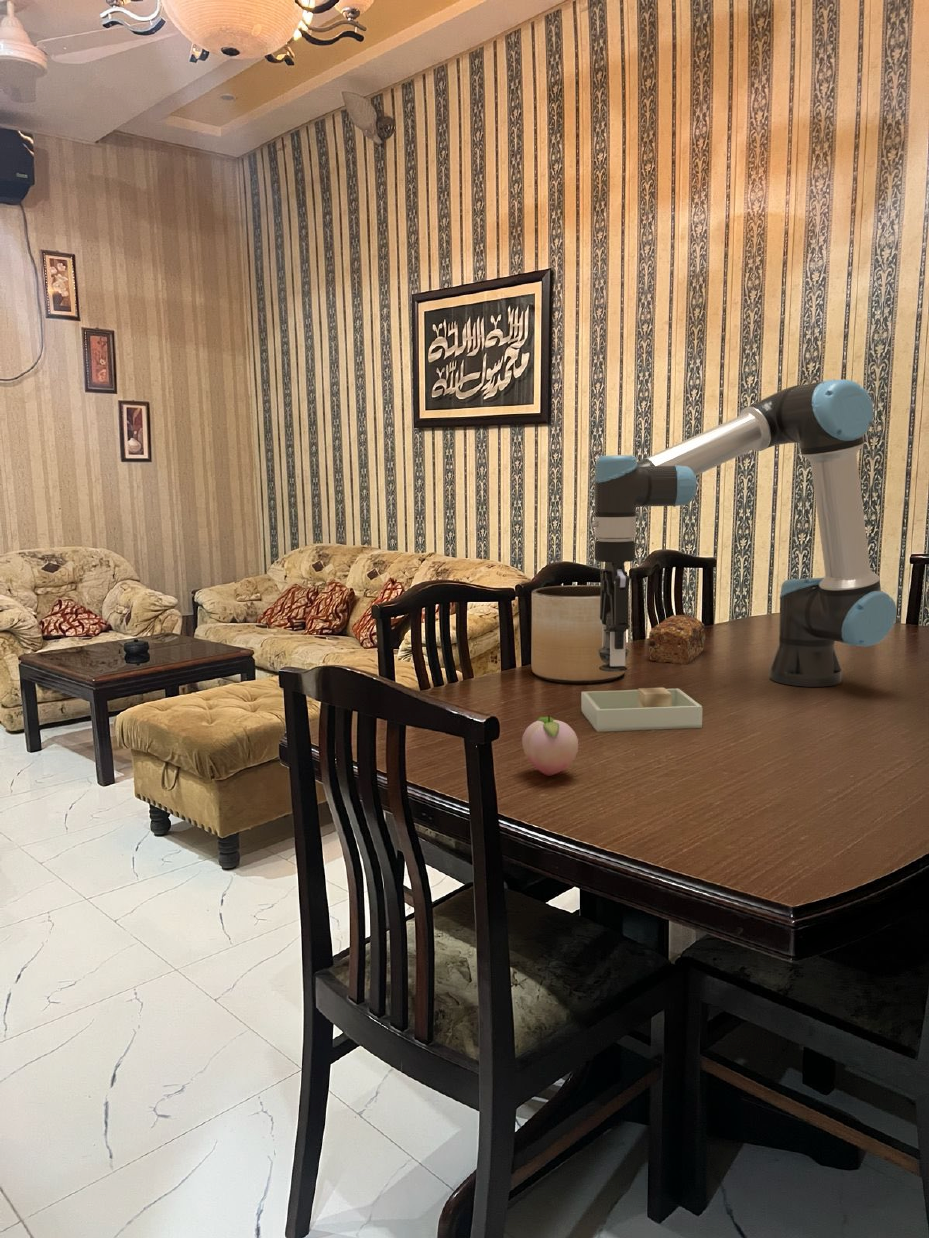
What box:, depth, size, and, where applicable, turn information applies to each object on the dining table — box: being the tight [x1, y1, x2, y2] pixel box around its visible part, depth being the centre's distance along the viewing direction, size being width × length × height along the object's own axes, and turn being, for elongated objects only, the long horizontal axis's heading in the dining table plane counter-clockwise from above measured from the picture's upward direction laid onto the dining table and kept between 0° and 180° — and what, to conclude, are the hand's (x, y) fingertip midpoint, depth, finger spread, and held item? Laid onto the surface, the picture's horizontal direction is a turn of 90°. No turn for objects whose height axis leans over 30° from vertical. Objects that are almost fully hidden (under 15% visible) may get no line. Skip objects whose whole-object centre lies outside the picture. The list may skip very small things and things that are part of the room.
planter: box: [530, 584, 627, 684], centre depth 210 cm, size 22×22×20 cm
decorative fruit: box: [521, 713, 579, 777], centre depth 140 cm, size 9×8×10 cm
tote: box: [580, 687, 703, 733], centre depth 172 cm, size 20×15×4 cm
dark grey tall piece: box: [598, 611, 630, 672], centre depth 169 cm, size 6×6×12 cm
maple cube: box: [637, 687, 671, 708], centre depth 172 cm, size 5×5×5 cm
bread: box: [648, 614, 706, 665], centre depth 230 cm, size 19×11×10 cm, turn 152°
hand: (613, 661), depth 170 cm, fingers closed on dark grey tall piece, 6 cm apart
